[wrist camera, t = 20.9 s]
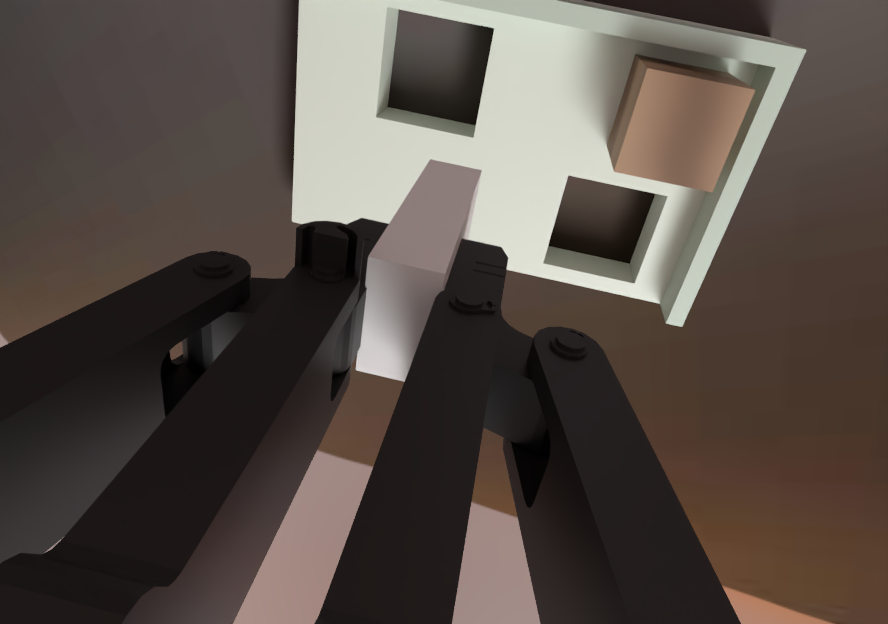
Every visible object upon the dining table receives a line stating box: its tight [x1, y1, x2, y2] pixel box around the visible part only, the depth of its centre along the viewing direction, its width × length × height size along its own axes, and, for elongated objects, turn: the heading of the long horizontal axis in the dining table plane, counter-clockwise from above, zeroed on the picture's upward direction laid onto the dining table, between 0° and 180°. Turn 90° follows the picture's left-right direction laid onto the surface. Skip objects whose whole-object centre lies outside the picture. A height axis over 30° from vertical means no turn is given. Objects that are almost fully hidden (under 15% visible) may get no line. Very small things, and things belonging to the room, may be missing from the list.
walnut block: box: [607, 54, 755, 192], centre depth 31 cm, size 5×5×5 cm
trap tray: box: [292, 0, 806, 327], centre depth 36 cm, size 26×16×6 cm, turn 81°
